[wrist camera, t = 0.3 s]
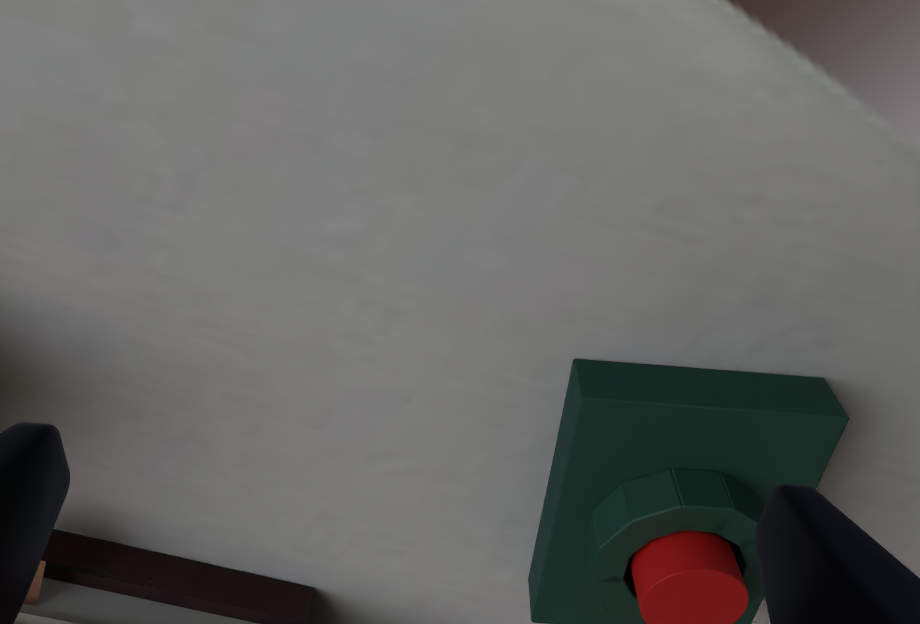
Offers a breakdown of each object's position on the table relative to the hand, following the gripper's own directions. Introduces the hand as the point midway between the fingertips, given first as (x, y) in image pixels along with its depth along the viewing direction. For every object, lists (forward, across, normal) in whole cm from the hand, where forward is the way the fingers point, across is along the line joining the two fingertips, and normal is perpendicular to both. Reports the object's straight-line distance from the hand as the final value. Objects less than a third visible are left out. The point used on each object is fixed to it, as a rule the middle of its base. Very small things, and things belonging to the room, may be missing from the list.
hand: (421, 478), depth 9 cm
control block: (+14, -10, +14) cm, 22 cm away
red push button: (+11, -10, +14) cm, 20 cm away
